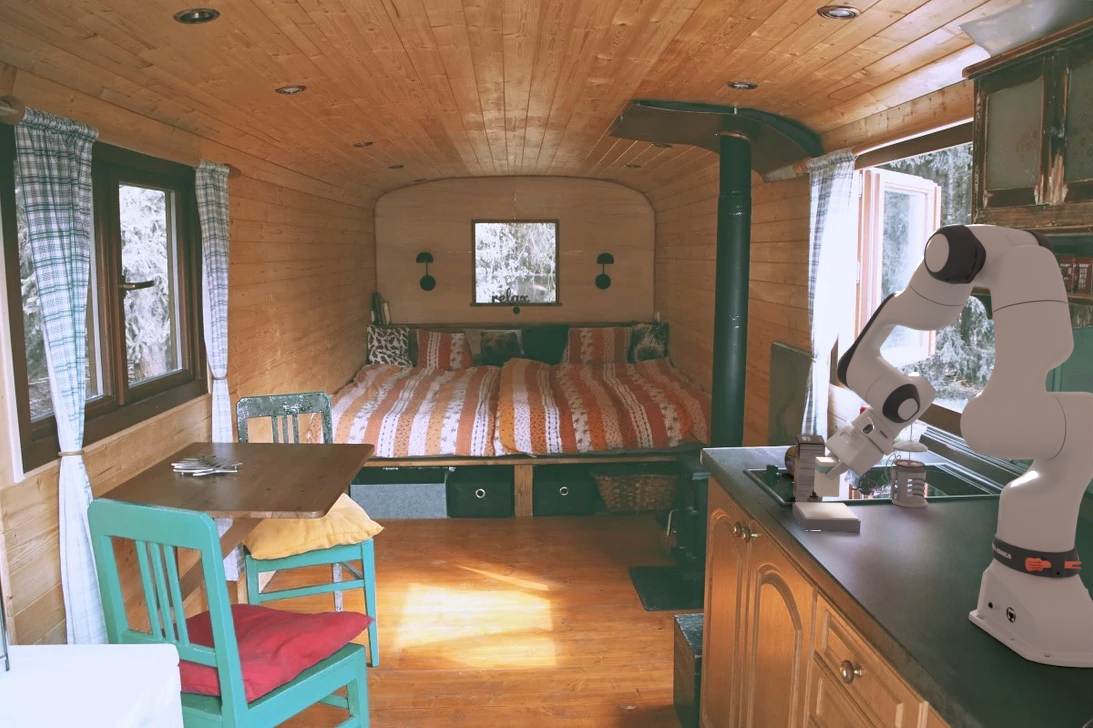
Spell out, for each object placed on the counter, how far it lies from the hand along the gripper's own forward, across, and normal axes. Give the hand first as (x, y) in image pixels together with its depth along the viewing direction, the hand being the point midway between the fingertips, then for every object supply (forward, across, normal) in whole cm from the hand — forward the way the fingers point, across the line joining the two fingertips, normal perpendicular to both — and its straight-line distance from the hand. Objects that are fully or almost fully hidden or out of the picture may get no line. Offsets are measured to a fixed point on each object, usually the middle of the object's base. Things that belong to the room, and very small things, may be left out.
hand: (824, 473), depth 188 cm
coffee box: (+8, -16, +9) cm, 20 cm away
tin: (+4, -38, +12) cm, 40 cm away
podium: (+8, 0, +8) cm, 11 cm away
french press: (-9, -18, +26) cm, 33 cm away
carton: (+3, 0, +4) cm, 5 cm away
